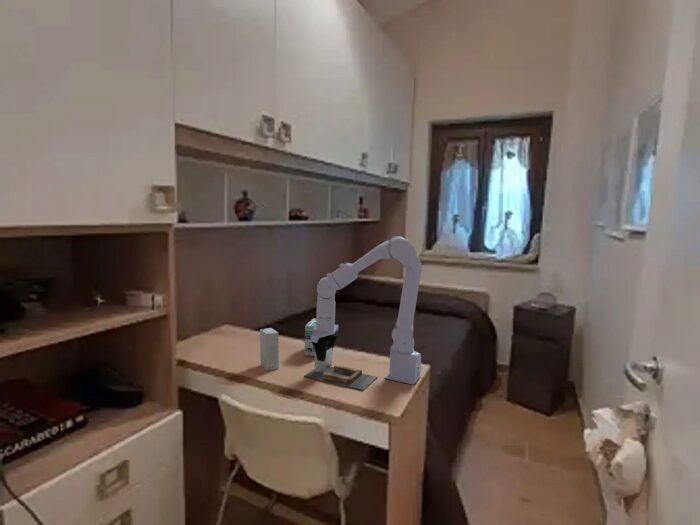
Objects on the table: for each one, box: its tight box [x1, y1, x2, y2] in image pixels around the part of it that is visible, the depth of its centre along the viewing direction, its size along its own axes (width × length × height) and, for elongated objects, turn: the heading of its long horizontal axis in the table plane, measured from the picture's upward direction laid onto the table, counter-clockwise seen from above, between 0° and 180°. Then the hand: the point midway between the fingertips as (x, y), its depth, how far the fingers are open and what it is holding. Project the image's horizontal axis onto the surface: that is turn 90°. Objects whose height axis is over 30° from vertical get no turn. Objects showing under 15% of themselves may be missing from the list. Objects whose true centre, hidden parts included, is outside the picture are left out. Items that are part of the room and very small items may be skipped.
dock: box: [303, 364, 378, 392], centre depth 140 cm, size 20×11×2 cm, turn 65°
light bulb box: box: [304, 318, 316, 357], centre depth 162 cm, size 11×7×11 cm, turn 168°
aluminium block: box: [314, 346, 333, 370], centre depth 142 cm, size 4×4×6 cm
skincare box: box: [259, 327, 280, 371], centre depth 146 cm, size 6×4×12 cm
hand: (324, 358), depth 142 cm, fingers closed on aluminium block, 4 cm apart
